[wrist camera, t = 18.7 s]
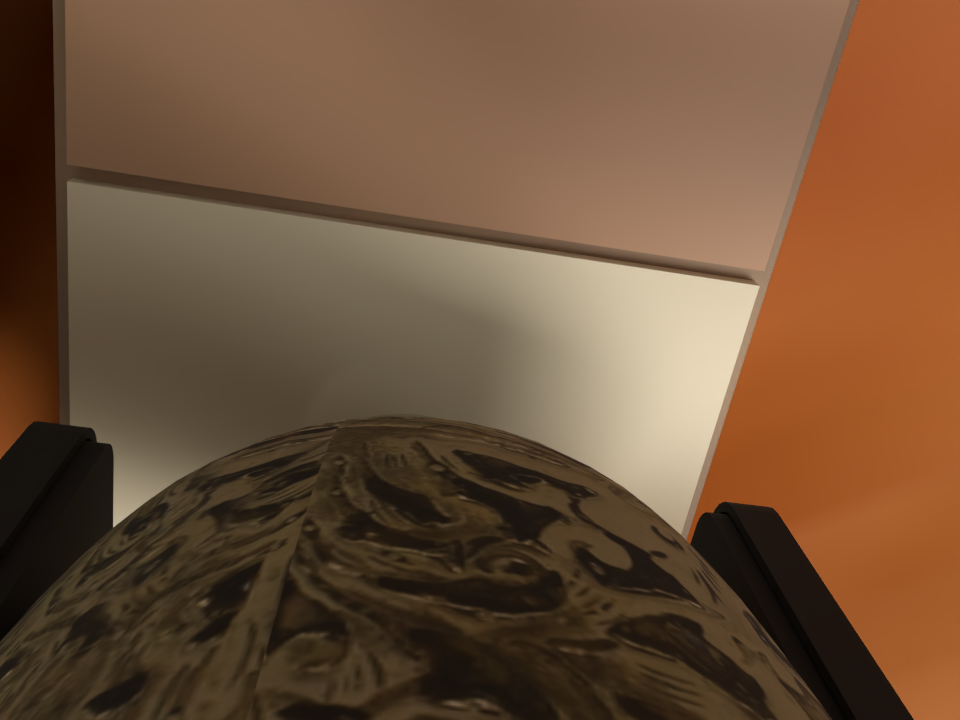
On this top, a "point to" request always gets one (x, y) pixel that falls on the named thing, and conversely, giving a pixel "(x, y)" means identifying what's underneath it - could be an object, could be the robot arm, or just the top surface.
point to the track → (425, 220)
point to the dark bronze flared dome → (395, 595)
